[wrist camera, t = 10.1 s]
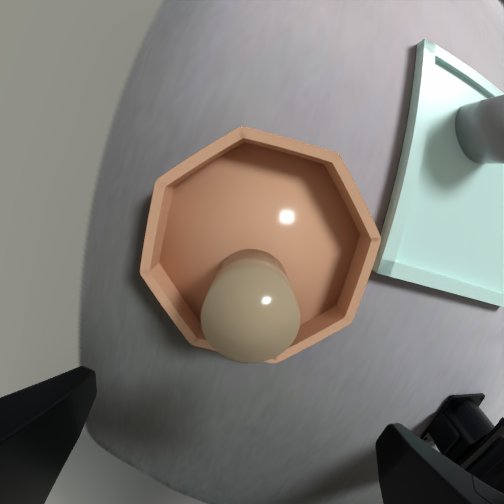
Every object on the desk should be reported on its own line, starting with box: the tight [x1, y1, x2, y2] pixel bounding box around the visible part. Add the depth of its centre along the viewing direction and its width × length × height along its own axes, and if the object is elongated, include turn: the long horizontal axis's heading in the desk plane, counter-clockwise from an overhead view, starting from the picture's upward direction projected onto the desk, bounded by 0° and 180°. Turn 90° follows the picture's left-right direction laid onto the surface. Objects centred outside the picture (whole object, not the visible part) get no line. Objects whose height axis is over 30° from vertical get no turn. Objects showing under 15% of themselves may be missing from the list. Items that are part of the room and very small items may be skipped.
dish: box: [140, 126, 381, 363], centre depth 17 cm, size 13×13×2 cm
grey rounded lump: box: [455, 95, 504, 164], centre depth 13 cm, size 5×5×5 cm
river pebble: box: [201, 249, 300, 363], centre depth 16 cm, size 5×5×5 cm
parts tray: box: [372, 39, 504, 307], centre depth 17 cm, size 16×17×1 cm
